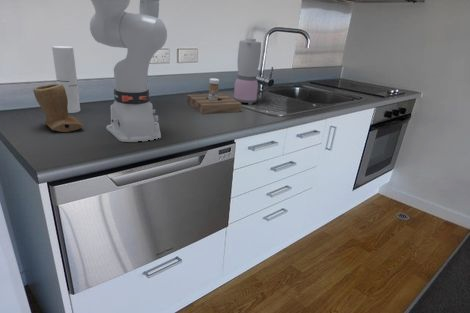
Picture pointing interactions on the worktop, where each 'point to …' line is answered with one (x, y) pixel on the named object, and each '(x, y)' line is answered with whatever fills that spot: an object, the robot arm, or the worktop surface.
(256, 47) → the blender
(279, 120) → the worktop surface
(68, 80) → the cylindrical container
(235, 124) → the worktop surface
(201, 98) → the socket block
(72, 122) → the tan boot vase
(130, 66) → the robot arm
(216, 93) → the sprinkles bottle
